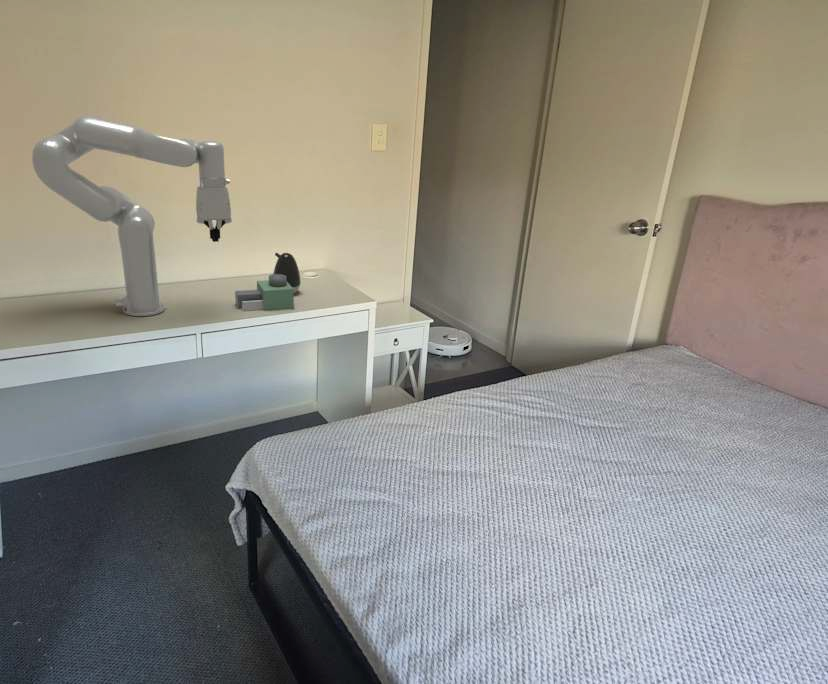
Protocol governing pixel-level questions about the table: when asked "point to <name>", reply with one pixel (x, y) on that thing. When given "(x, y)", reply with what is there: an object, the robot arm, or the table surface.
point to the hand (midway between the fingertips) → (215, 240)
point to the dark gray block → (247, 296)
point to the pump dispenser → (288, 269)
